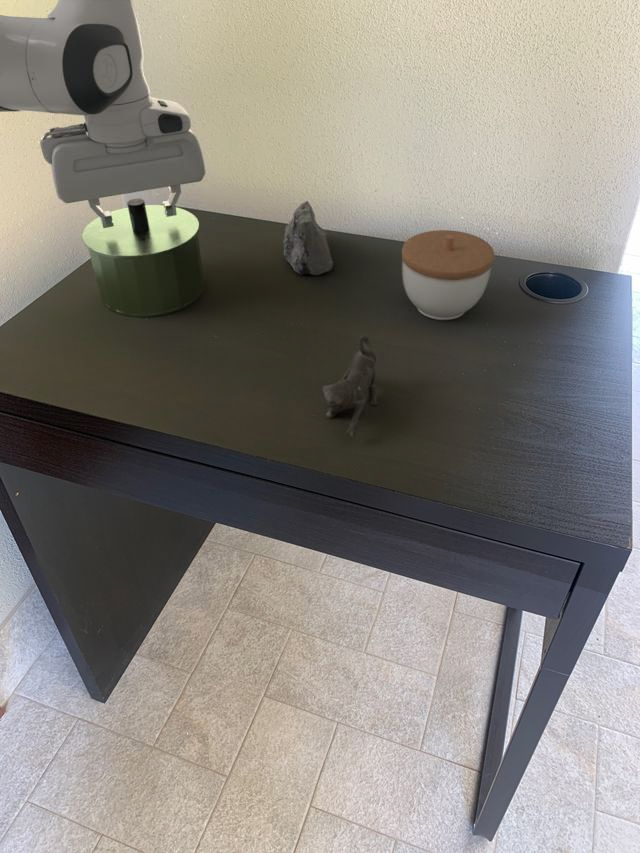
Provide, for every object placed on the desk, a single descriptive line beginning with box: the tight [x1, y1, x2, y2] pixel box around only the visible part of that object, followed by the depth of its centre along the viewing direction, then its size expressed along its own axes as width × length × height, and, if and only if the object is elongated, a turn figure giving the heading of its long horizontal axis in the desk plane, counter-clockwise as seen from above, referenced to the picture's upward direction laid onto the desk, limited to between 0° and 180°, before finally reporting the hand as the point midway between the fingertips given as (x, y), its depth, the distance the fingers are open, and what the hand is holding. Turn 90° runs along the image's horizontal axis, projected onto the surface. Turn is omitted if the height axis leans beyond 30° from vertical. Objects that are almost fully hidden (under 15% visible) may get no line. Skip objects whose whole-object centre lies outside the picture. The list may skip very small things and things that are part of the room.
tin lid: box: [81, 198, 200, 259], centre depth 97 cm, size 17×17×5 cm
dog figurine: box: [322, 334, 378, 438], centre depth 81 cm, size 12×6×7 cm, turn 159°
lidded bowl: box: [401, 229, 495, 321], centre depth 97 cm, size 13×13×11 cm
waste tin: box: [87, 233, 205, 318], centre depth 102 cm, size 16×16×10 cm
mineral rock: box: [282, 200, 334, 276], centre depth 109 cm, size 13×11×10 cm
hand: (139, 220), depth 98 cm, fingers open, 8 cm apart
